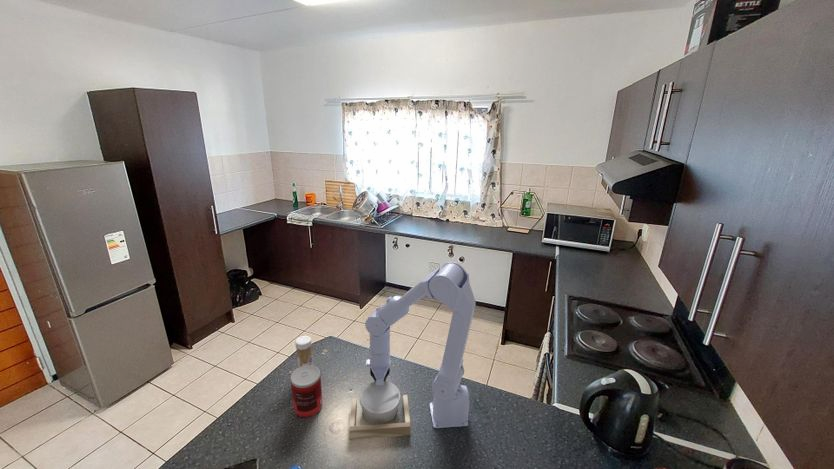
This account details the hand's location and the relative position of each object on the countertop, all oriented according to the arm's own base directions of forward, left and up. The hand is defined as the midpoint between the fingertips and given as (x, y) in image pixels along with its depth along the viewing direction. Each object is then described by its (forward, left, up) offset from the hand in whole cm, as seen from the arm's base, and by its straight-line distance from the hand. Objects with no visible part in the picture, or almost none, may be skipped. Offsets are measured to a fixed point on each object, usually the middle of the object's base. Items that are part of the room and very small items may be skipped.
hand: (380, 386), depth 96 cm
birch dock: (0, +10, -1) cm, 10 cm away
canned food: (+20, +4, -2) cm, 21 cm away
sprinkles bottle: (+23, -8, -2) cm, 24 cm away
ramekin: (0, +7, -2) cm, 7 cm away
